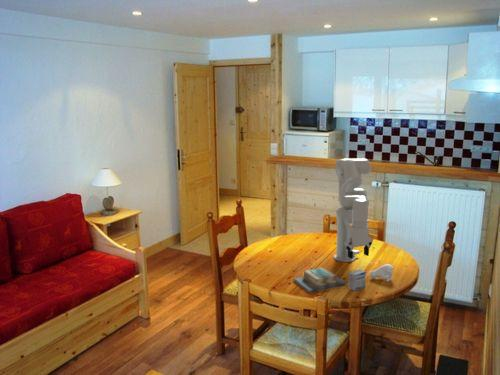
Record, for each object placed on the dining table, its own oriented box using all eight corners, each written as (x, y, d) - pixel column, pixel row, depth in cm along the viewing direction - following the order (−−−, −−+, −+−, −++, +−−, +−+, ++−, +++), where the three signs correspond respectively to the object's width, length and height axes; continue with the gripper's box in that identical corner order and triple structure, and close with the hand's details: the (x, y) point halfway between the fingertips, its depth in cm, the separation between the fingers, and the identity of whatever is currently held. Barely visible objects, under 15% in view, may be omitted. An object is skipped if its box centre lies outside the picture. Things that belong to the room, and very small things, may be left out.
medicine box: (354, 291, 231) (355, 275, 229) (348, 288, 234) (348, 272, 232) (365, 287, 235) (366, 271, 233) (358, 284, 239) (359, 268, 237)
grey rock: (393, 266, 238) (369, 267, 241) (394, 282, 240) (370, 282, 243) (392, 262, 244) (369, 262, 247) (393, 277, 246) (370, 277, 249)
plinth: (328, 273, 252) (329, 263, 251) (346, 285, 238) (346, 274, 237) (293, 281, 244) (293, 270, 242) (309, 293, 229) (309, 282, 228)
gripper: (368, 219, 234) (367, 251, 237) (340, 223, 227) (339, 256, 230) (378, 223, 227) (377, 256, 230) (349, 227, 220) (348, 261, 224)
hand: (358, 256), depth 230 cm, fingers open, 9 cm apart
